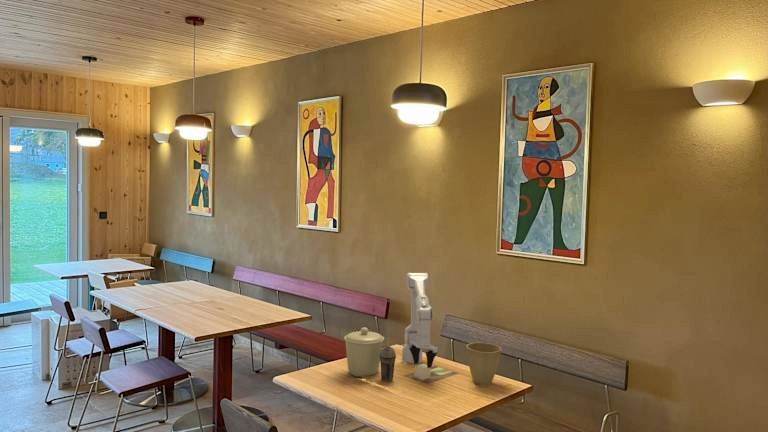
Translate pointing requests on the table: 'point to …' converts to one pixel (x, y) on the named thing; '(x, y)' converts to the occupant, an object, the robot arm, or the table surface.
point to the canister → (363, 352)
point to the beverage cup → (387, 362)
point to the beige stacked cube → (422, 372)
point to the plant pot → (483, 362)
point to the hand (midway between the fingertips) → (422, 365)
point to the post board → (433, 375)
